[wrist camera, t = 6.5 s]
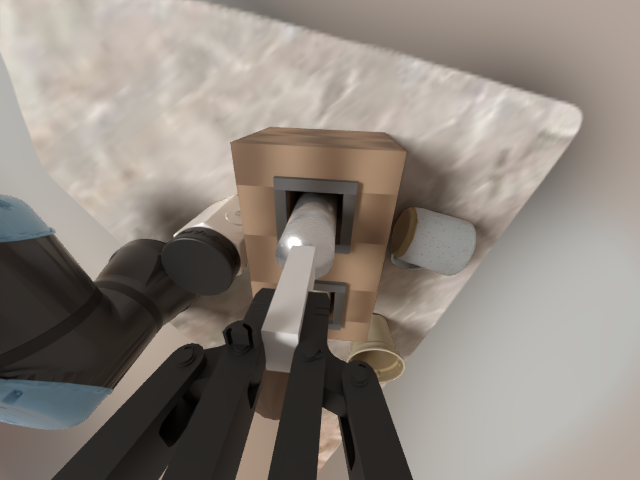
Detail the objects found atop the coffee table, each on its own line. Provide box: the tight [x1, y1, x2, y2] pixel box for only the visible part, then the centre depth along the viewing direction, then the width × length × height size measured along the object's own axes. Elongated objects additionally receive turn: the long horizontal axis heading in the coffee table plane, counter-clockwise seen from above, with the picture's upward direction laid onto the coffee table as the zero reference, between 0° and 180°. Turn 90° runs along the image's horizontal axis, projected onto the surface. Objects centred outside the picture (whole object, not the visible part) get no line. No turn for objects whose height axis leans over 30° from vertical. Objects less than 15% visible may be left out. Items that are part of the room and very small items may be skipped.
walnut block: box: [230, 127, 407, 342], centre depth 30 cm, size 14×23×13 cm, turn 178°
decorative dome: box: [255, 364, 289, 420], centre depth 52 cm, size 19×20×10 cm
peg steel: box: [276, 191, 338, 279], centre depth 21 cm, size 4×4×11 cm
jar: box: [161, 195, 248, 296], centre depth 32 cm, size 9×8×12 cm
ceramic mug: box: [390, 207, 476, 276], centre depth 32 cm, size 11×8×8 cm
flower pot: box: [346, 314, 405, 383], centre depth 42 cm, size 9×9×9 cm
